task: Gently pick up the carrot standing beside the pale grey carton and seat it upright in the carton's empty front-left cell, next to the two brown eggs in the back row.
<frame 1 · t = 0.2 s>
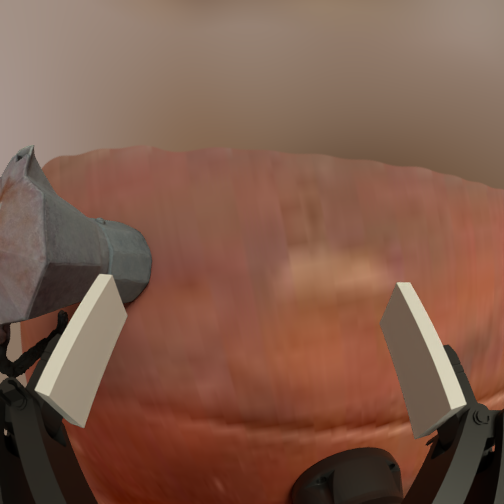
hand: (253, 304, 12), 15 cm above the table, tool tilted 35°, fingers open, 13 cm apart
moka pot: (119, 266, 28), on the table
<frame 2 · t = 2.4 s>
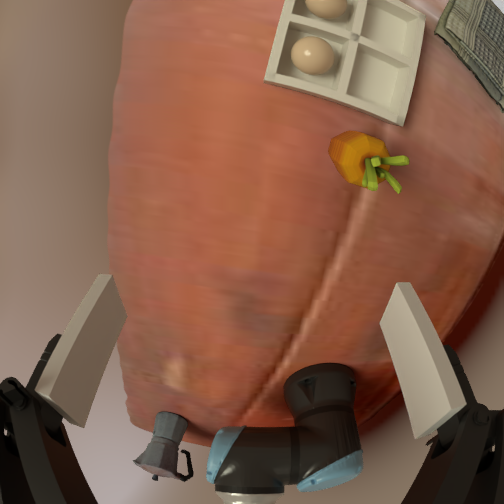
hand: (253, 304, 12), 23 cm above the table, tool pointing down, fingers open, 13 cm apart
carton: (345, 43, 24), on the table
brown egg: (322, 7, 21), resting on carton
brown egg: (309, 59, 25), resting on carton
carrot: (335, 144, 31), on the table
dish towel: (485, 41, 20), on the table
moka pot: (173, 418, 64), on the table
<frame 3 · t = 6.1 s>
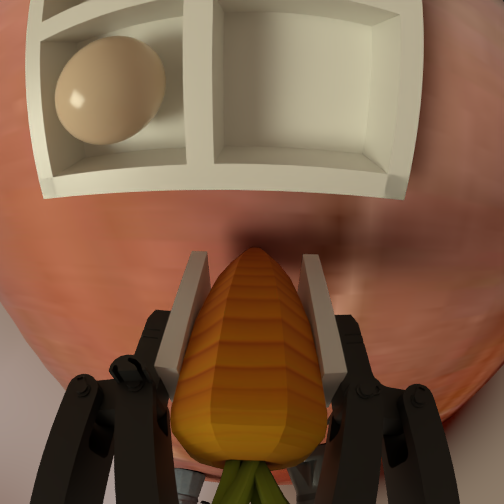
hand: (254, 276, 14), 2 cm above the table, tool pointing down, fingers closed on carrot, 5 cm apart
carton: (214, 6, 9), on the table
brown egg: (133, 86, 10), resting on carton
carrot: (255, 249, 16), on the table, touching gripper
moka pot: (190, 471, 56), on the table
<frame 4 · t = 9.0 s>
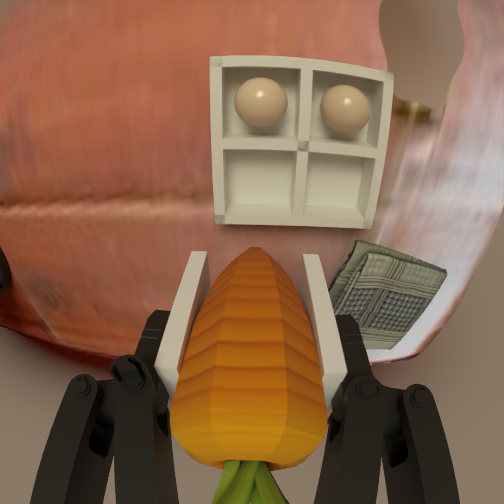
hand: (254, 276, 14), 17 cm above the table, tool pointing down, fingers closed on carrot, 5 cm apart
carton: (298, 138, 26), on the table
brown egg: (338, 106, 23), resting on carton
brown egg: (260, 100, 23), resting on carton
carrot: (255, 249, 16), point 14 cm above the table, touching gripper
dish towel: (375, 298, 38), on the table
when the fingers open (5 cm above the table, at t = 11.8 s): carrot drops 2 cm, resting on carton.
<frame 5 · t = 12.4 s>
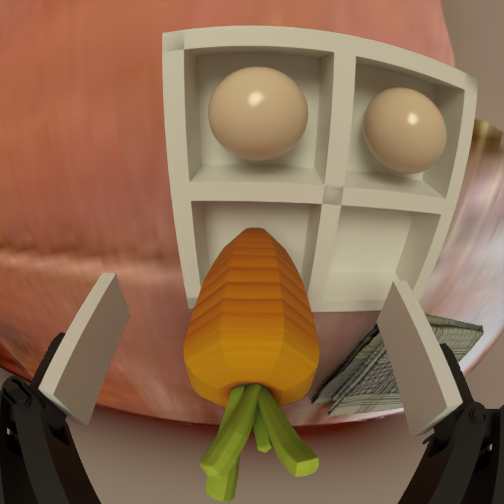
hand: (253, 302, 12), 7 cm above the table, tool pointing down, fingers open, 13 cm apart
carton: (319, 173, 16), on the table
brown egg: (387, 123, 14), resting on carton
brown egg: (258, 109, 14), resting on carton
carrot: (255, 230, 18), resting on carton
dish towel: (398, 362, 29), on the table
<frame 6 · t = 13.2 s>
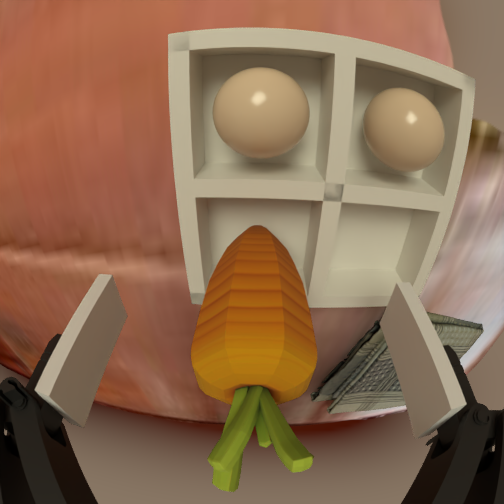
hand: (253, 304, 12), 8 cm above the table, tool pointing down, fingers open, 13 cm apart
carton: (320, 171, 16), on the table
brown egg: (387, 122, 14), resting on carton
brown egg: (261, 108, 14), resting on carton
carrot: (257, 227, 18), resting on carton
dish towel: (398, 360, 29), on the table
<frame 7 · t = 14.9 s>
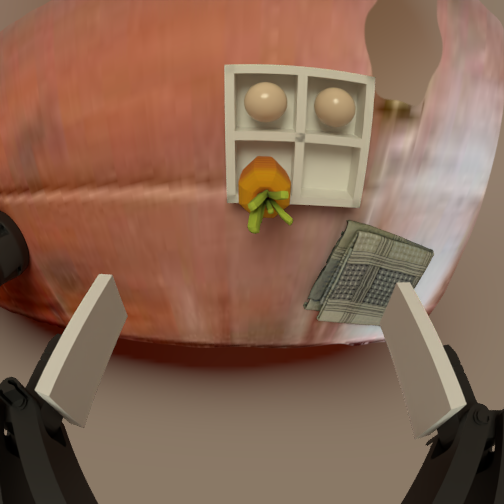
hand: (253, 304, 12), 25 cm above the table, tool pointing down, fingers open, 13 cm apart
carton: (296, 132, 31), on the table
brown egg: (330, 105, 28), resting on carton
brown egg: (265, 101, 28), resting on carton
carrot: (263, 162, 33), resting on carton
dish towel: (368, 276, 43), on the table
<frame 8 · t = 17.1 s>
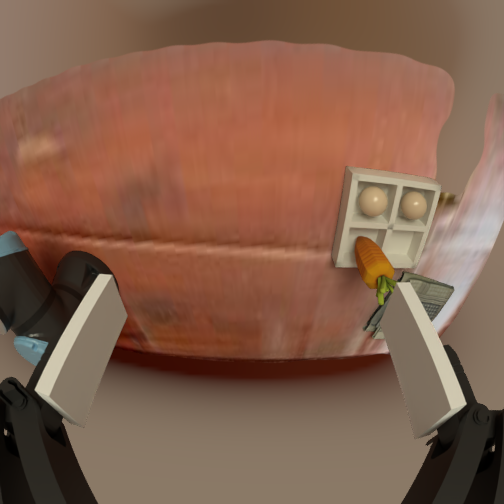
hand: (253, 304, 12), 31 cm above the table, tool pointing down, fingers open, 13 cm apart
carton: (382, 216, 43), on the table
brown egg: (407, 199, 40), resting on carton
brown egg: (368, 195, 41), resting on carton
carrot: (358, 236, 45), resting on carton
dish towel: (408, 306, 56), on the table
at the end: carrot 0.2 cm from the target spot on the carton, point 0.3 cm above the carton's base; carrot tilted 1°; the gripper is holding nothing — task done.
